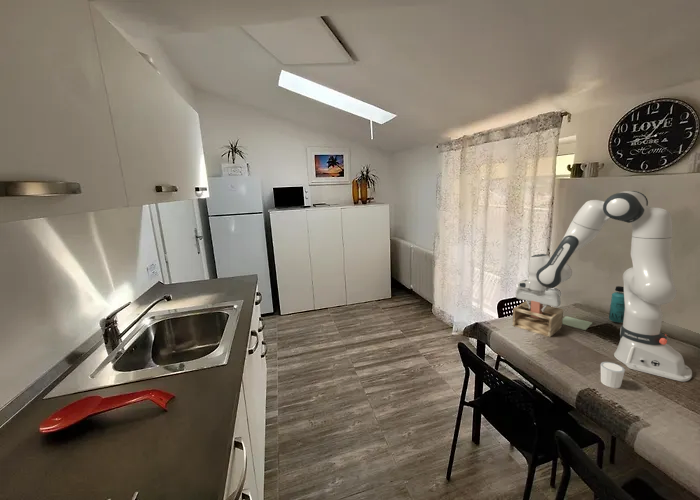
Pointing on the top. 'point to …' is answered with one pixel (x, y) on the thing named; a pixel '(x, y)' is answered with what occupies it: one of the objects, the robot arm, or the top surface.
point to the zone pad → (576, 323)
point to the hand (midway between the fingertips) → (536, 310)
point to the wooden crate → (544, 325)
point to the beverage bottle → (617, 305)
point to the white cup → (612, 374)
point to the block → (536, 308)
